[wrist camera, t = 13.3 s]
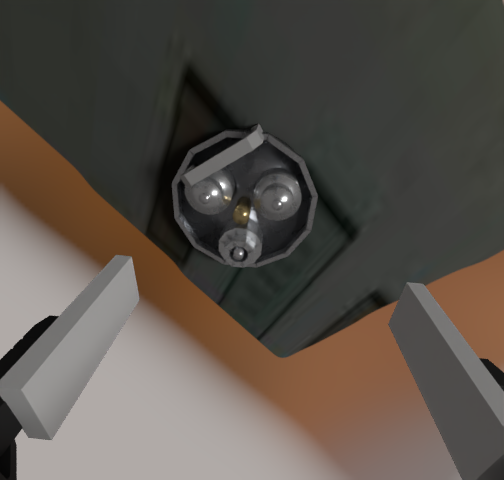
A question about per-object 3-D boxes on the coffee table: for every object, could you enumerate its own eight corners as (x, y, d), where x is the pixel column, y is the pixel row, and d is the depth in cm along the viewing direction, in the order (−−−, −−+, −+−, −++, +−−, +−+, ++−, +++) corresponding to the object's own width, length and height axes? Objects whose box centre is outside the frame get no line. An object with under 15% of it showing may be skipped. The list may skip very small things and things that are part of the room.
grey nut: (222, 250, 48) (216, 270, 43) (223, 215, 45) (216, 232, 40) (260, 254, 48) (259, 274, 43) (264, 219, 45) (263, 236, 40)
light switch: (191, 164, 42) (175, 179, 36) (258, 123, 39) (255, 131, 32) (197, 173, 43) (183, 190, 36) (264, 134, 40) (262, 144, 33)
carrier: (174, 123, 40) (152, 131, 33) (325, 135, 39) (336, 146, 32) (183, 250, 51) (168, 277, 44) (301, 261, 50) (305, 290, 43)
